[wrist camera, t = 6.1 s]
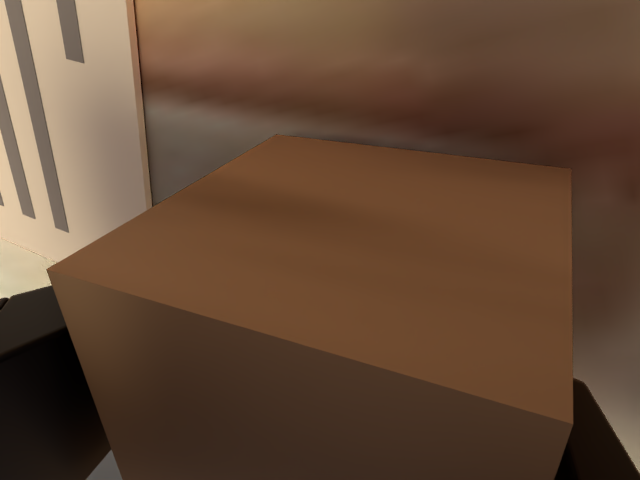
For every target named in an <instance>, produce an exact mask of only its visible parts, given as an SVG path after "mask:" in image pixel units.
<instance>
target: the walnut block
mask: <svg viewBox="0 0 640 480" xmlns="http://www.w3.org/2000/svg"><path fill="white" fill-rule="evenodd" d="M46 270H47V273H48V276H49V278H50V281H51V284H52V287H53V289H54V292H55V295H56V298H57V300H58V303H59V306H60V309H61V311H62V314H63V317H64V320H65V322H66V325H67V328H68V331H69V333H70V336H71V339H72V342H73V344H74V347H75V350H76V353H77V356H78V358H79V361H80V364H81V367H82V369H83V372H84V375H85V378H86V380H87V383H88V386H89V389H90V391H91V394H92V397H93V400H94V402H95V405H96V408H97V411H98V413H99V416H100V419H101V422H102V424H103V427H104V430H105V433H106V436H107V438H108V441H109V444H110V447H111V449H112V452H113V455H114V458H115V460H116V463H117V466H118V469H119V471H120V474H121V477H122V480H554V478H555V475H556V473H557V470H558V467H559V464H560V461H561V458H562V455H563V452H564V449H565V447H566V444H567V441H568V438H569V435H570V432H571V429H572V426H573V328H572V197H571V169H569V168H560V167H552V166H543V165H534V164H526V163H517V162H509V161H500V160H492V159H483V158H474V157H466V156H457V155H449V154H440V153H431V152H423V151H414V150H406V149H397V148H388V147H380V146H371V145H363V144H354V143H346V142H337V141H328V140H320V139H311V138H303V137H294V136H285V135H277V134H276V135H275V136H273V137H271V138H269V139H268V140H266V141H264V142H263V143H261V144H259V145H257V146H256V147H254V148H252V149H251V150H249V151H247V152H246V153H244V154H242V155H240V156H239V157H237V158H235V159H234V160H232V161H230V162H228V163H227V164H225V165H223V166H222V167H220V168H218V169H217V170H215V171H213V172H211V173H210V174H208V175H206V176H205V177H203V178H201V179H200V180H198V181H196V182H194V183H193V184H191V185H189V186H188V187H186V188H184V189H182V190H181V191H179V192H177V193H176V194H174V195H172V196H171V197H169V198H167V199H165V200H164V201H162V202H160V203H159V204H157V205H155V206H153V207H152V208H150V209H148V210H147V211H145V212H143V213H142V214H140V215H138V216H136V217H135V218H133V219H131V220H130V221H128V222H126V223H124V224H123V225H121V226H119V227H118V228H116V229H114V230H113V231H111V232H109V233H107V234H106V235H104V236H102V237H101V238H99V239H97V240H95V241H94V242H92V243H90V244H89V245H87V246H85V247H84V248H82V249H80V250H78V251H77V252H75V253H73V254H72V255H70V256H68V257H67V258H65V259H63V260H61V261H60V262H58V263H56V264H55V265H53V266H51V267H49V268H48V269H46Z"/></svg>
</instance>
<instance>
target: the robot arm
mask: <svg viewBox="0 0 640 480" xmlns="http://www.w3.org/2000/svg"><path fill="white" fill-rule="evenodd" d="M111 450H112V449H111V447H110V444H109V441H108V438H107V436H106V433H105V430H104V427H103V424H102V422H101V419H100V416H99V413H98V411H97V408H96V405H95V402H94V400H93V397H92V394H91V391H90V389H89V386H88V383H87V380H86V378H85V375H84V372H83V369H82V367H81V364H80V361H79V358H78V356H77V353H76V350H75V347H74V344H73V342H72V339H71V336H70V333H69V331H68V328H67V325H66V322H65V320H64V317H63V314H62V311H61V309H60V306H59V303H58V300H57V298H56V295H55V292H54V289H53V287H52V286H48V287H44V288H40V289H36V290H33V291H29V292H25V293H21V294H17V295H14V296H11V297H10V299H9V298H2V299H0V480H86V479H87V478H88V477H89V475H90V474H91V473H92V472H93V471H94V470H95V468H96V467H97V466H98V465H99V464H100V462H101V461H102V460H103V459H104V458H105V457H106V455H107V454H108V453H109V452H110V451H111ZM554 480H640V473H639V472H638V470H637V468H636V467H635V465H634V463H633V462H632V460H631V458H630V457H629V455H628V453H627V452H626V450H625V448H624V447H623V445H622V444H621V442H620V440H619V439H618V437H617V435H616V434H615V432H614V430H613V429H612V427H611V425H610V424H609V422H608V420H607V419H606V417H605V415H604V414H603V412H602V410H601V409H600V407H599V405H598V404H597V402H596V400H595V399H594V397H593V395H592V394H591V392H590V390H589V389H588V387H587V386H586V385H585V384H584V383H583V382H582V381H580V380H577V379H575V378H573V426H572V429H571V432H570V435H569V438H568V441H567V444H566V447H565V449H564V452H563V455H562V458H561V461H560V464H559V467H558V470H557V473H556V475H555V478H554Z"/></svg>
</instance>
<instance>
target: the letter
mask: <svg viewBox="0 0 640 480" xmlns="http://www.w3.org/2000/svg"><path fill="white" fill-rule="evenodd" d="M150 208H152V200H151V189H150V178H149V167H148V156H147V145H146V134H145V123H144V112H143V101H142V91H141V80H140V69H139V58H138V47H137V36H136V25H135V14H134V3H133V0H0V238H2V239H4V240H6V241H9V242H11V243H13V244H16V245H18V246H20V247H22V248H25V249H27V250H29V251H32V252H34V253H36V254H38V255H41V256H43V257H45V258H48V259H50V260H52V261H54V262H57V263H58V262H60V261H61V260H63V259H65V258H67V257H68V256H70V255H72V254H73V253H75V252H77V251H78V250H80V249H82V248H84V247H85V246H87V245H89V244H90V243H92V242H94V241H95V240H97V239H99V238H101V237H102V236H104V235H106V234H107V233H109V232H111V231H113V230H114V229H116V228H118V227H119V226H121V225H123V224H124V223H126V222H128V221H130V220H131V219H133V218H135V217H136V216H138V215H140V214H142V213H143V212H145V211H147V210H148V209H150Z"/></svg>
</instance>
